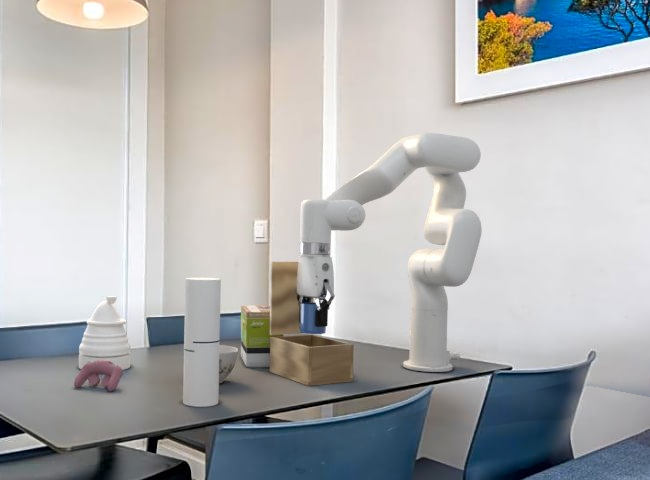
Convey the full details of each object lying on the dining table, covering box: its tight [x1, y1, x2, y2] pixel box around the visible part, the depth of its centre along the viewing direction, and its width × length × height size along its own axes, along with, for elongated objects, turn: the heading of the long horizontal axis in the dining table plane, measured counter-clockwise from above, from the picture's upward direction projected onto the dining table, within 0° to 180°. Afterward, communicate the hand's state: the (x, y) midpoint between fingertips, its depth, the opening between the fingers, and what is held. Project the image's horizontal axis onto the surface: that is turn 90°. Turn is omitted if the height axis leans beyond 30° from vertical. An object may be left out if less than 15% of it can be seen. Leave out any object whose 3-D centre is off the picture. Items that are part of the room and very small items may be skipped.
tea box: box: [240, 304, 284, 368], centre depth 182 cm, size 15×10×15 cm, turn 6°
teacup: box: [219, 344, 239, 384], centre depth 157 cm, size 15×12×8 cm
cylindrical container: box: [182, 277, 222, 408], centre depth 136 cm, size 7×7×25 cm
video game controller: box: [73, 360, 124, 392], centre depth 148 cm, size 10×5×7 cm, turn 71°
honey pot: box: [78, 295, 131, 371], centre depth 172 cm, size 13×13×18 cm
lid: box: [269, 261, 315, 336], centre depth 174 cm, size 18×13×5 cm
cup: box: [300, 301, 327, 335], centre depth 163 cm, size 6×6×7 cm
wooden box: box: [269, 334, 355, 387], centre depth 164 cm, size 18×13×9 cm
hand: (312, 324), depth 163 cm, fingers closed on cup, 6 cm apart
